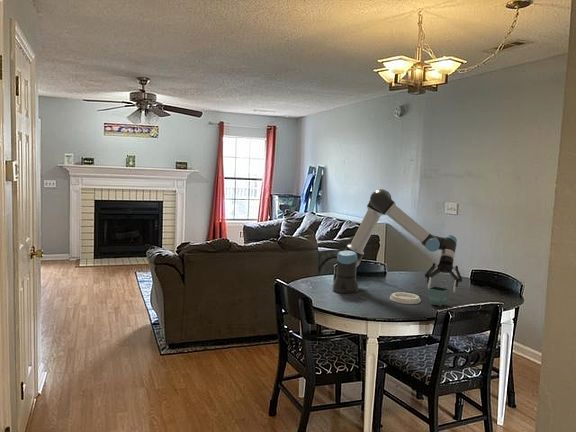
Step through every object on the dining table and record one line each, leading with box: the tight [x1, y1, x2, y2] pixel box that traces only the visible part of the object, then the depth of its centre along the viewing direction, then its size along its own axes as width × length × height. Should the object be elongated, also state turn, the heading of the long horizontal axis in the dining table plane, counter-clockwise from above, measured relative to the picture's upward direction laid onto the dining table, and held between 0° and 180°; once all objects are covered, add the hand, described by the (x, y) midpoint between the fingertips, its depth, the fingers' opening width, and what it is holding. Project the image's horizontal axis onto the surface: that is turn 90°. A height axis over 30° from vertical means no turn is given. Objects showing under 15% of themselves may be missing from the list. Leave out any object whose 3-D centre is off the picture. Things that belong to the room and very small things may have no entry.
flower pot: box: [427, 286, 450, 307], centre depth 271 cm, size 9×9×9 cm
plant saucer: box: [389, 291, 422, 305], centre depth 279 cm, size 17×17×2 cm
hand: (441, 289), depth 273 cm, fingers open, 13 cm apart
